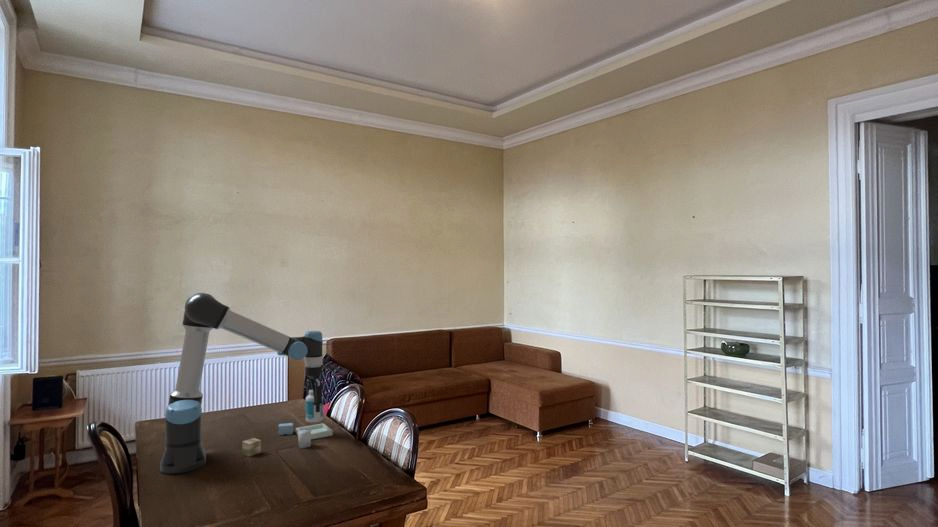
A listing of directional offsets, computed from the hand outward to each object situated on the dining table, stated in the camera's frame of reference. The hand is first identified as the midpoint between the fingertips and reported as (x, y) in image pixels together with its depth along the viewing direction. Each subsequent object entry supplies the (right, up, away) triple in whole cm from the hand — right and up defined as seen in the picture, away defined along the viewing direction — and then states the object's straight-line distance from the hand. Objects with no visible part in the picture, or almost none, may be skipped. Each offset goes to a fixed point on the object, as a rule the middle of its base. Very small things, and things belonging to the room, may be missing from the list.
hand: (314, 416), depth 228 cm
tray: (0, -8, 0) cm, 8 cm away
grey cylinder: (+1, -8, -15) cm, 17 cm away
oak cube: (-18, -8, -23) cm, 31 cm away
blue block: (-13, -8, +2) cm, 16 cm away
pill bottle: (0, -2, 0) cm, 2 cm away
